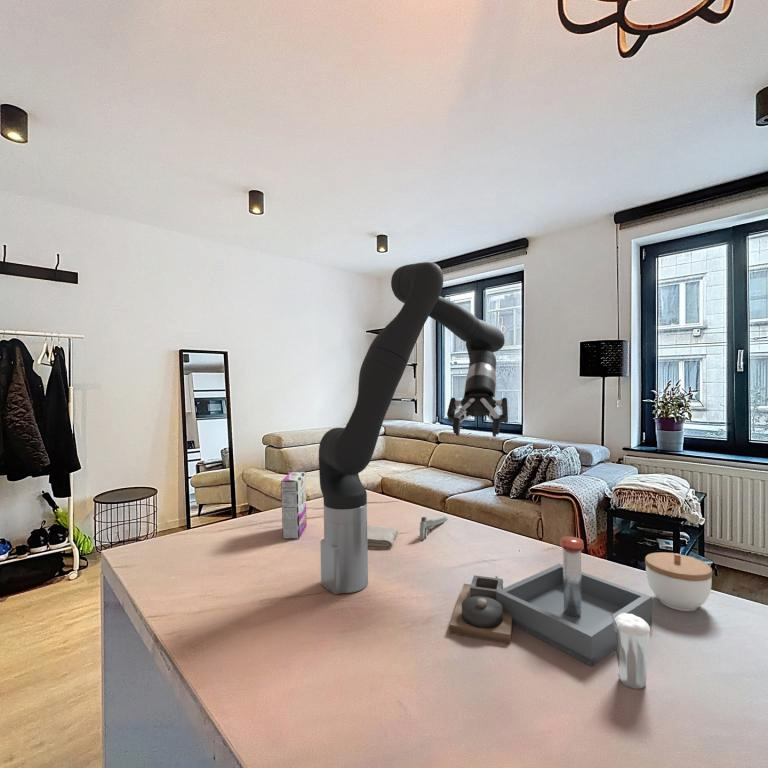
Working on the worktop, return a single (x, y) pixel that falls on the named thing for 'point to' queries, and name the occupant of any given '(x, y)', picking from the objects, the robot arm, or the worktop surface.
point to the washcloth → (381, 536)
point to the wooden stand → (481, 612)
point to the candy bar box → (293, 505)
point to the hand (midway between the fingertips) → (475, 434)
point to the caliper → (429, 525)
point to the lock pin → (572, 575)
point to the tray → (572, 635)
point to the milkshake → (632, 649)
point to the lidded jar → (678, 580)
